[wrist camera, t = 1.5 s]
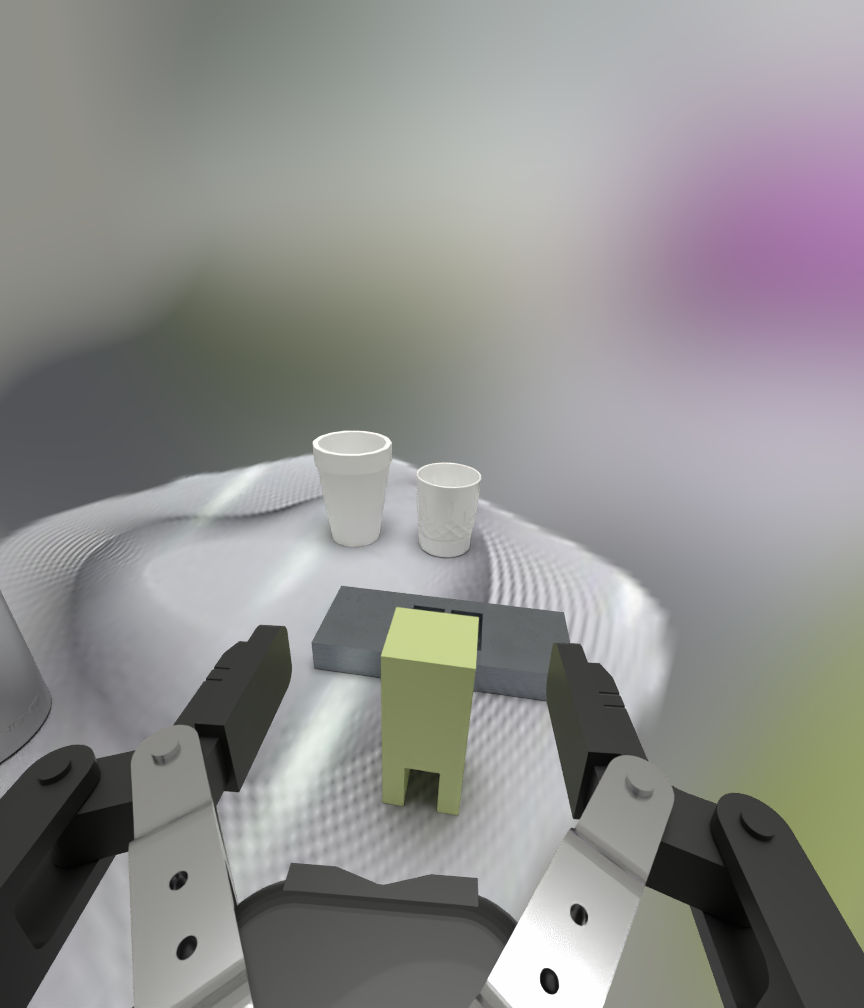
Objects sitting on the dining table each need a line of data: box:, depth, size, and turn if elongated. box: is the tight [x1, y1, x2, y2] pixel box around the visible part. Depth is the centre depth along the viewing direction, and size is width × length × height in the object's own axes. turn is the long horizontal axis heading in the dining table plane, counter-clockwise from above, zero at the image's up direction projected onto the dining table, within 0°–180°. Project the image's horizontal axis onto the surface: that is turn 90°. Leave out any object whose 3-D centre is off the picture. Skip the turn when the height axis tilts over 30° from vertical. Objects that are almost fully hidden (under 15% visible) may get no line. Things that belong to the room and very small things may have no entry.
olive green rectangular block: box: [381, 607, 479, 815], centre depth 28 cm, size 5×4×13 cm
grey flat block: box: [312, 586, 570, 701], centre depth 41 cm, size 22×8×3 cm, turn 82°
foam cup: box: [313, 431, 392, 547], centre depth 57 cm, size 10×9×13 cm
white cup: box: [417, 463, 481, 557], centre depth 56 cm, size 8×8×10 cm
